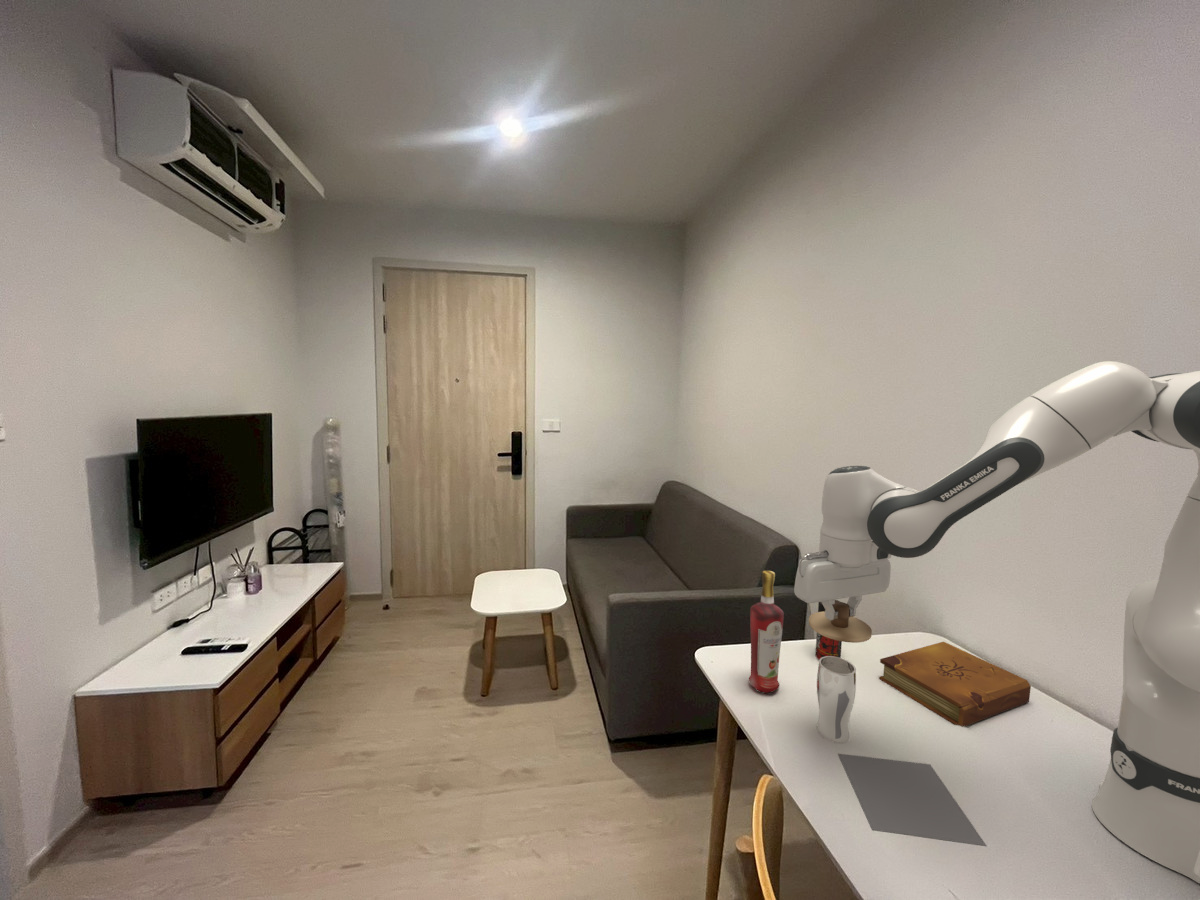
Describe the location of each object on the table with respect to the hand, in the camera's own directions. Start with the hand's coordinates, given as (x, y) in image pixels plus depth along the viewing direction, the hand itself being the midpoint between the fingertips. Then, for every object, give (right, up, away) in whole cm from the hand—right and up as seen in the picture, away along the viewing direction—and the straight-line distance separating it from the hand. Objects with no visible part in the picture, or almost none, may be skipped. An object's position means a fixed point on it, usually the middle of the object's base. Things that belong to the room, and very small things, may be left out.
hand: (840, 617), depth 92 cm
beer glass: (0, -25, +3) cm, 25 cm away
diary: (+35, -24, +17) cm, 46 cm away
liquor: (-9, -23, +18) cm, 31 cm away
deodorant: (+13, -22, +31) cm, 40 cm away
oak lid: (0, -2, 0) cm, 2 cm away
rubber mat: (+5, -26, -12) cm, 29 cm away
